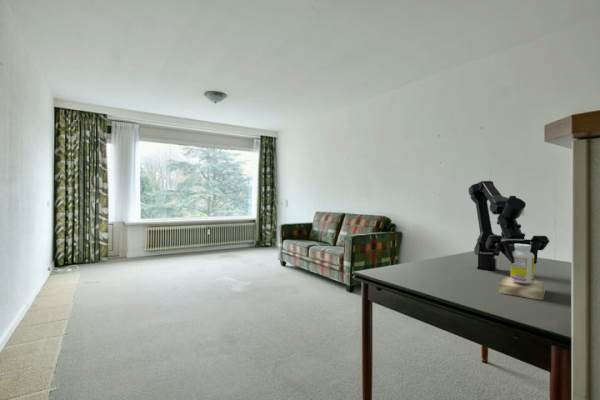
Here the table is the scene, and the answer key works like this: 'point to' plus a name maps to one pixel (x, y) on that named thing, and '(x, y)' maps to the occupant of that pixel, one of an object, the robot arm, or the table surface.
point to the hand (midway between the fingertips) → (524, 263)
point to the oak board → (523, 288)
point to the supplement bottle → (522, 264)
